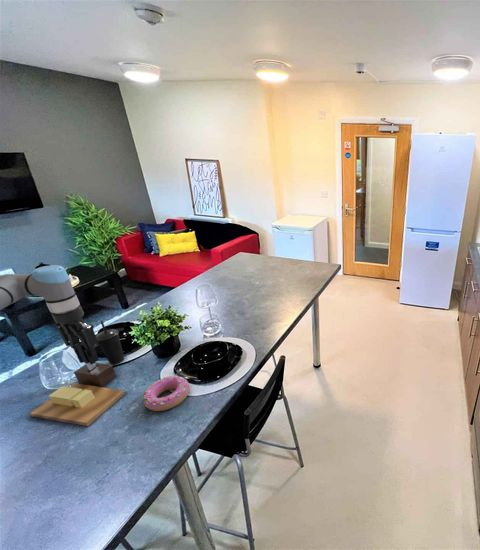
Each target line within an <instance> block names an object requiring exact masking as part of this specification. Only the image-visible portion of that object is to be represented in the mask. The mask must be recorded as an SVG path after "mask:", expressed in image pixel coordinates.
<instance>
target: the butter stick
mask: <svg viewBox="0 0 480 550" xmlns="http://www.w3.org/2000/svg"><path fill="white" fill-rule="evenodd" d="M82 391H83V390H82V389H78V388H72V387H68V386H64V385H62V386H61V387H59V388H58V389H56V390H55V391H53V392H52V393H50V394H49V395H48V398H49V399H51V401H52V403H54V404H60V405H66V406H74V403H73V401H72V399H73V398H74V397H76V396H77V395H78V394H80V393H81V392H82Z"/></svg>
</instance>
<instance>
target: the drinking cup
mask: <svg viewBox="0 0 480 550" xmlns="http://www.w3.org/2000/svg"><path fill="white" fill-rule="evenodd" d="M100 324H101V327H102V329H103V331H101V332H99V333H97V334H95V336H96V338H97V341H98V344H99V345H98V346H99V347H100V349H101V351H102V352H103V354H104V356H105V358H106V359H107V361H108V363H109V365H117V364H120V363H122V362H123V361H124V360H125V356H124V351H123V347H122V343H121V339H120V335H119V334H120V331H119V330H118V329H116V328H110V329H107V328H106V327H105V323H104V321H103V320H101V321H100Z"/></svg>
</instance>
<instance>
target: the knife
mask: <svg viewBox="0 0 480 550" xmlns="http://www.w3.org/2000/svg"><path fill="white" fill-rule="evenodd" d="M75 346H76V348H77V350H78V352H79V355H80V357H81V359H82V361H83V364H84V365H85V364H86V366H87V369H88V371H89V372H90V371H92V370H93V369H95V368H96V367H98V366H97V364H96V363H97V362H95V363H94V364H90V362H89V360H88V358H87V355H86V353H85V351H84V350H85V347H84V346H83V344H82V342H81V341H80V343H78V344H77V345H75Z"/></svg>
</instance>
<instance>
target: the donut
mask: <svg viewBox="0 0 480 550" xmlns="http://www.w3.org/2000/svg"><path fill="white" fill-rule="evenodd" d="M174 389H175V390H174ZM169 390H174V391H173V392H172V393H170V394H168V395H166V396H162V397H160V395H161V394H163V393H164V392H166V391H167V392H168V391H169ZM189 393H190V383H189V381H188V380H187V379H186V378H185V377H183V376H178V375H168V376H165V377H163V378H160V379H158V380H156V381H155V382H153V383H151V384H150V385H149V386H148V387H147V388H146V389H145V390H144V392H143V395H142V396H141V397H142V401H143V404H144V406H145V407H146V408H147V409H148V410H151V411H152V412H162V411H167V410H170V409H173V408H175V407H177V406H178V405H180V404H181V403H182V402H184V400H185V399H187V397H188V395H189Z"/></svg>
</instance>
